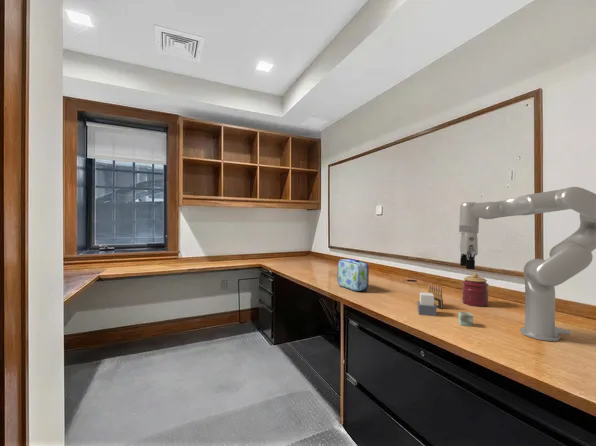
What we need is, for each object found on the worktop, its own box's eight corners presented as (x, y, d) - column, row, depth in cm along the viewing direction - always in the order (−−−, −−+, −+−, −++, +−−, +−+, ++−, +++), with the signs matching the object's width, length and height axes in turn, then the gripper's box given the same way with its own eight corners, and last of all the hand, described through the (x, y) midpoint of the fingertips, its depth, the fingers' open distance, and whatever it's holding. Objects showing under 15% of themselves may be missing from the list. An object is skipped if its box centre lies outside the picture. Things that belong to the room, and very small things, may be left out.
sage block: (470, 323, 132) (470, 312, 132) (473, 327, 127) (473, 315, 127) (458, 322, 134) (458, 311, 134) (460, 325, 129) (460, 314, 129)
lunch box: (371, 291, 191) (371, 260, 191) (358, 293, 186) (358, 261, 186) (347, 284, 215) (347, 256, 215) (335, 285, 210) (336, 257, 210)
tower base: (433, 312, 149) (434, 302, 149) (436, 316, 141) (436, 306, 141) (417, 310, 151) (417, 301, 151) (419, 315, 144) (419, 305, 144)
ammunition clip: (443, 308, 154) (443, 286, 154) (440, 309, 153) (440, 287, 153) (429, 303, 164) (430, 282, 164) (427, 303, 164) (427, 282, 164)
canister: (473, 300, 172) (473, 271, 172) (494, 306, 160) (494, 274, 160) (456, 301, 168) (457, 272, 168) (476, 307, 156) (476, 275, 156)
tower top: (432, 302, 149) (432, 293, 149) (433, 305, 143) (434, 295, 143) (419, 301, 150) (419, 292, 150) (421, 304, 145) (421, 295, 145)
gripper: (484, 230, 119) (482, 271, 119) (472, 229, 135) (470, 265, 136) (464, 229, 121) (462, 269, 121) (454, 228, 138) (453, 264, 138)
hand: (467, 267), depth 128 cm, fingers open, 9 cm apart
